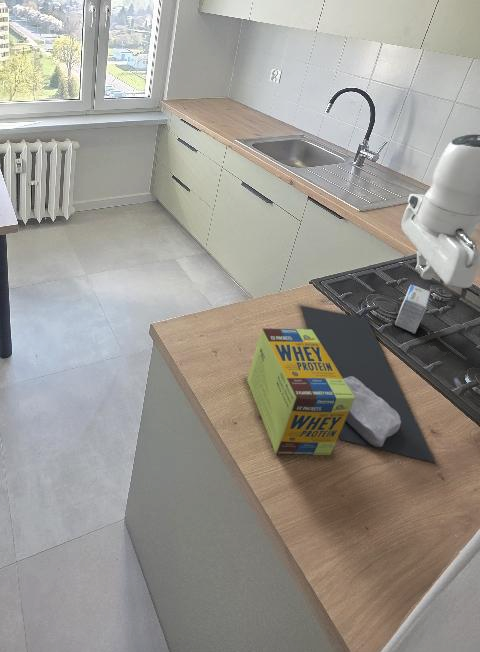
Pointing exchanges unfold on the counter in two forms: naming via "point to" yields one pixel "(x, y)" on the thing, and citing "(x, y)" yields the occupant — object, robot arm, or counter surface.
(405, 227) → the robot arm
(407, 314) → the medicine box
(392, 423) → the stone block
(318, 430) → the protein box
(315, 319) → the mat
